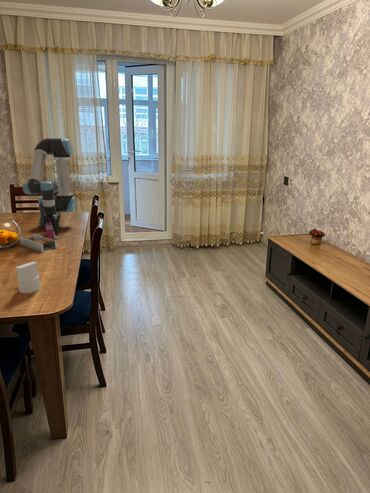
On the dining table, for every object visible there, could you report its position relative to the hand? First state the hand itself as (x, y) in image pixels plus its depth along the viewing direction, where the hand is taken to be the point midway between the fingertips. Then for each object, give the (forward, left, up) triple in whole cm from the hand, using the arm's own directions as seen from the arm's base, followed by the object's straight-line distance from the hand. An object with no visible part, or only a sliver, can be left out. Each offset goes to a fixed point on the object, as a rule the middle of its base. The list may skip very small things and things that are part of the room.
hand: (52, 238), depth 232 cm
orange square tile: (+10, -16, +3) cm, 19 cm away
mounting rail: (+10, -16, 0) cm, 19 cm away
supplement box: (0, 0, -1) cm, 1 cm away
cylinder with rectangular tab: (+61, -51, -1) cm, 80 cm away
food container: (-48, +35, -1) cm, 59 cm away
